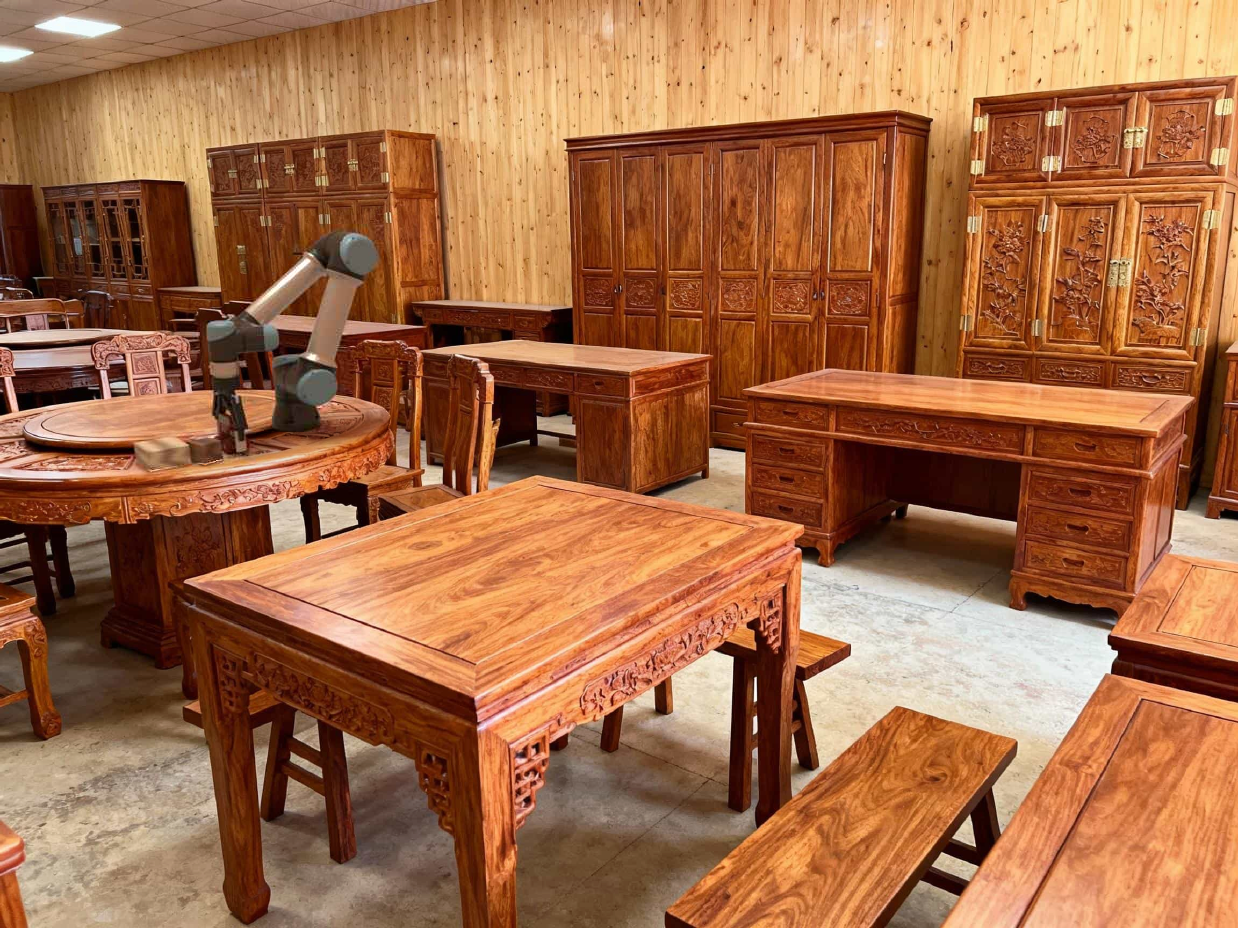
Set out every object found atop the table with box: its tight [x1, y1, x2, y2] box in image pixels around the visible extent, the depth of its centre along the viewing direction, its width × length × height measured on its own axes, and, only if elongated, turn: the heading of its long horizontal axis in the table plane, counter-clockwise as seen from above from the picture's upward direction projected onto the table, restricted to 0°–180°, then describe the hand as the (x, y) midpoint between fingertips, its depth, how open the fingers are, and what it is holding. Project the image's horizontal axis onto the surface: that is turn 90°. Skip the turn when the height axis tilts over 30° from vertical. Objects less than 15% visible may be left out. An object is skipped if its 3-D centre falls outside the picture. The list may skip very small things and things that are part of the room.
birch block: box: [133, 435, 192, 470], centre depth 258 cm, size 11×11×6 cm
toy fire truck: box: [213, 412, 251, 454], centre depth 271 cm, size 7×12×10 cm, turn 48°
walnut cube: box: [188, 436, 224, 464], centre depth 261 cm, size 6×6×6 cm
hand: (232, 445), depth 272 cm, fingers closed on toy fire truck, 12 cm apart
